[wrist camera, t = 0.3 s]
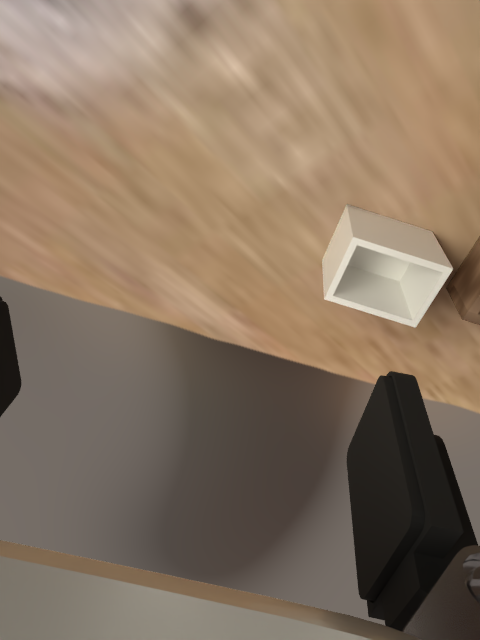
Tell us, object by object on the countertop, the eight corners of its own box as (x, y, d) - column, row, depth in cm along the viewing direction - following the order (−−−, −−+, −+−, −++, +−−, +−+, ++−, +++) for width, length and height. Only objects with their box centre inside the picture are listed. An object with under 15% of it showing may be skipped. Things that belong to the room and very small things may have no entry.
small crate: (346, 203, 44) (353, 236, 37) (432, 231, 44) (453, 268, 38) (322, 260, 47) (324, 299, 41) (401, 285, 48) (415, 327, 41)
